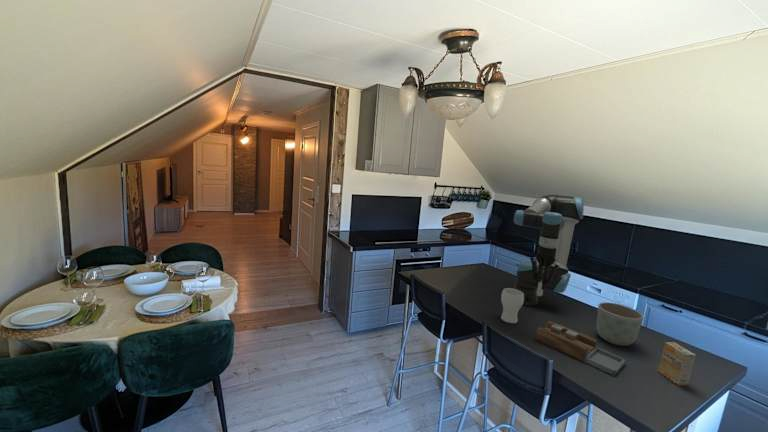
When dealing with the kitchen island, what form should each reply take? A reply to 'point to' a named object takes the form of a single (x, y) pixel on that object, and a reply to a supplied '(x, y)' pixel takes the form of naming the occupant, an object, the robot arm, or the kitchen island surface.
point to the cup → (511, 304)
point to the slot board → (566, 342)
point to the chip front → (571, 335)
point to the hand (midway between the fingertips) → (539, 295)
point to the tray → (605, 361)
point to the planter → (618, 323)
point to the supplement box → (676, 363)
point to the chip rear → (557, 329)
